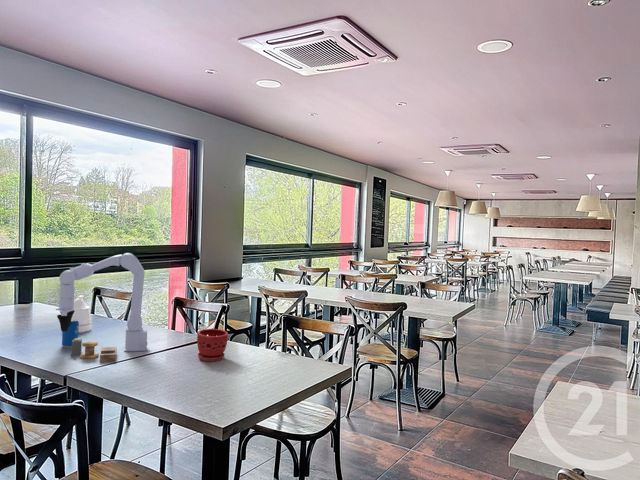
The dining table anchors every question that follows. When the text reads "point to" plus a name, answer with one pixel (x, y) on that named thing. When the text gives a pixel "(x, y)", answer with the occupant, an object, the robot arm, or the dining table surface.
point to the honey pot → (82, 314)
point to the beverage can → (70, 333)
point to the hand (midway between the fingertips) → (65, 329)
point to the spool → (89, 350)
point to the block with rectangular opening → (108, 354)
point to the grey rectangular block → (76, 346)
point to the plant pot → (211, 344)
